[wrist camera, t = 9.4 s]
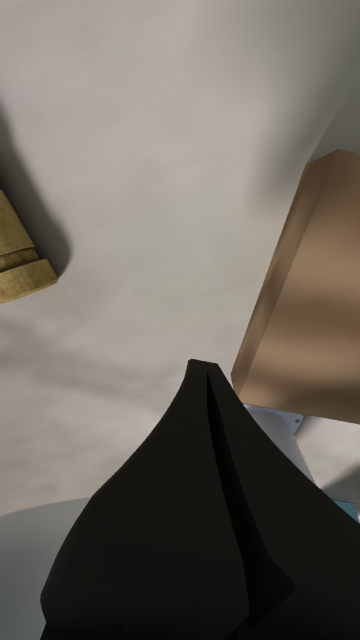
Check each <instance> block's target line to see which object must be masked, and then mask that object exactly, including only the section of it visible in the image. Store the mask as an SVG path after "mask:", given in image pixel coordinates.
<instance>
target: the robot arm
mask: <svg viewBox="0 0 360 640" xmlns="http://www.w3.org/2000/svg"><path fill="white" fill-rule="evenodd" d="M303 418H304V416H303V414H301V413H295V412H290V411H284V410H279V409H273V408H268V407H262V406H257V405H251V404H246V403H242V402H241V400H240V399H239V397H238V396H237V394H236V393H235V391H234V390H233V388H232V387H231V385H230V383H229V382H228V380H227V378H226V377H225V375H224V373H223V372H222V370H221V368H220V367H219V365H218V364H216V363H211V362H206V361H200V360H195V359H190V360H188V365H187V369H186V373H185V377H184V380H183V382H182V384H181V387H180V389H179V391H178V392H177V394H176V396H175V398H174V400H173V401H172V403H171V405H170V406H169V408H168V409H167V411H166V412H165V414H164V415H163V417H162V418H161V420H160V421H159V423H158V424H157V425H156V426H155V428H154V429H153V430H152V432H151V433H150V434H149V436H148V437H147V438H146V439H145V441H144V442H143V443H142V444H141V445H140V446H139V448H138V449H137V450H136V451H135V452H134V453H133V454H132V455H131V457H130V458H129V459H128V460H127V461H126V462H125V463H124V464H123V465H122V467H121V468H120V469H119V470H118V471H117V472H116V473H115V474H114V475H113V476H112V477H111V478H110V479H109V480H108V481H107V482H106V483H105V484H104V485H103V486H102V487H101V488H100V489H99V490H98V491H97V492H96V493H95V494H94V495H93V496H92V497H91V499H90V500H89V502H88V504H87V505H86V506H85V508H84V509H83V511H82V513H81V514H80V516H79V517H78V519H77V520H76V522H75V523H74V525H73V527H72V528H71V530H70V532H69V533H68V535H67V537H66V539H65V540H64V543H63V544H62V546H61V548H60V550H59V552H58V555H57V556H56V558H55V561H54V563H53V566H52V568H51V571H50V573H49V576H48V578H47V580H46V583H45V585H44V588H43V590H42V593H41V598H40V602H41V607H42V611H43V614H44V617H45V620H46V625H45V628H44V630H43V633H42V636H41V639H40V640H360V523H358V522H357V521H356V520H355V519H354V518H352V517H351V516H350V515H349V514H348V513H346V512H345V511H344V510H343V509H342V508H341V507H339V506H338V505H337V504H336V503H335V502H334V501H333V500H332V499H330V498H329V497H328V496H327V495H326V494H325V493H324V492H323V491H322V490H321V489H319V488H318V487H317V486H316V484H315V482H314V480H313V477H312V475H311V473H310V471H309V469H308V466H307V464H306V462H305V460H304V458H303V455H302V453H301V451H300V449H299V447H298V444H297V442H296V440H295V438H294V436H293V435H294V433H295V431H296V430H297V428H298V427H299V425H300V423H301V422H302V420H303Z"/></svg>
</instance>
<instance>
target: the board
mask: <svg viewBox="0 0 360 640" xmlns="http://www.w3.org/2000/svg"><path fill="white" fill-rule="evenodd" d="M231 379H232V383H233V388H234V391H235V393H236V394H237V396H238V397H239V399H240V400H241V402H242V403H246V404H251V405H257V406H262V407H268V408H273V409H279V410H284V411H290V412H295V413H301V414H306V415H311V416H317V417H322V418H328V419H333V420H339V421H344V422H350V423H355V424H360V154H358V153H353V152H348V151H343V150H339V149H338V150H336V151H334V152H332V153H330V154H328V155H326V156H324V157H322V158H320V159H318V160H316V161H313V162H311V163H309V164H307V165H306V166H305V169H304V172H303V174H302V177H301V180H300V183H299V185H298V188H297V191H296V194H295V197H294V199H293V202H292V205H291V208H290V211H289V213H288V216H287V219H286V222H285V224H284V227H283V230H282V233H281V236H280V238H279V241H278V244H277V247H276V250H275V252H274V255H273V258H272V261H271V263H270V266H269V269H268V272H267V275H266V277H265V280H264V283H263V286H262V289H261V291H260V294H259V297H258V300H257V302H256V305H255V308H254V311H253V314H252V316H251V319H250V322H249V325H248V328H247V330H246V333H245V336H244V339H243V341H242V344H241V347H240V350H239V353H238V355H237V358H236V361H235V364H234V367H233V369H232V372H231Z"/></svg>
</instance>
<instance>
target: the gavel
mask: <svg viewBox="0 0 360 640" xmlns="http://www.w3.org/2000/svg"><path fill="white" fill-rule="evenodd" d="M34 248H35V246H34V244H33V242H32V240H31V239H30V237H29V235H28V234H27V232H26V230H25V228H24V227H23V225H22V223H21V221H20V220H19V218H18V216H17V214H16V213H15V211H14V209H13V208H12V206H11V204H10V202H9V201H8V199H7V197H6V195H5V194H4V192H3V191H2V190H0V303H7V302H10V301H13V300H16V299H18V298H21V297H24V296H26V295H29V294H32V293H34V292H37V291H39V290H41V289H44V288H46V287H48V286H51V285H53V284H55V283H56V282H57V281H58V278H57V276H56V274H55V272H54V271H53V269H52V267H51V265H50V264H49V262H48V260H47V259H42V260H40V258H39V257H38V255H37V253H36V252H35V250H34Z"/></svg>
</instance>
